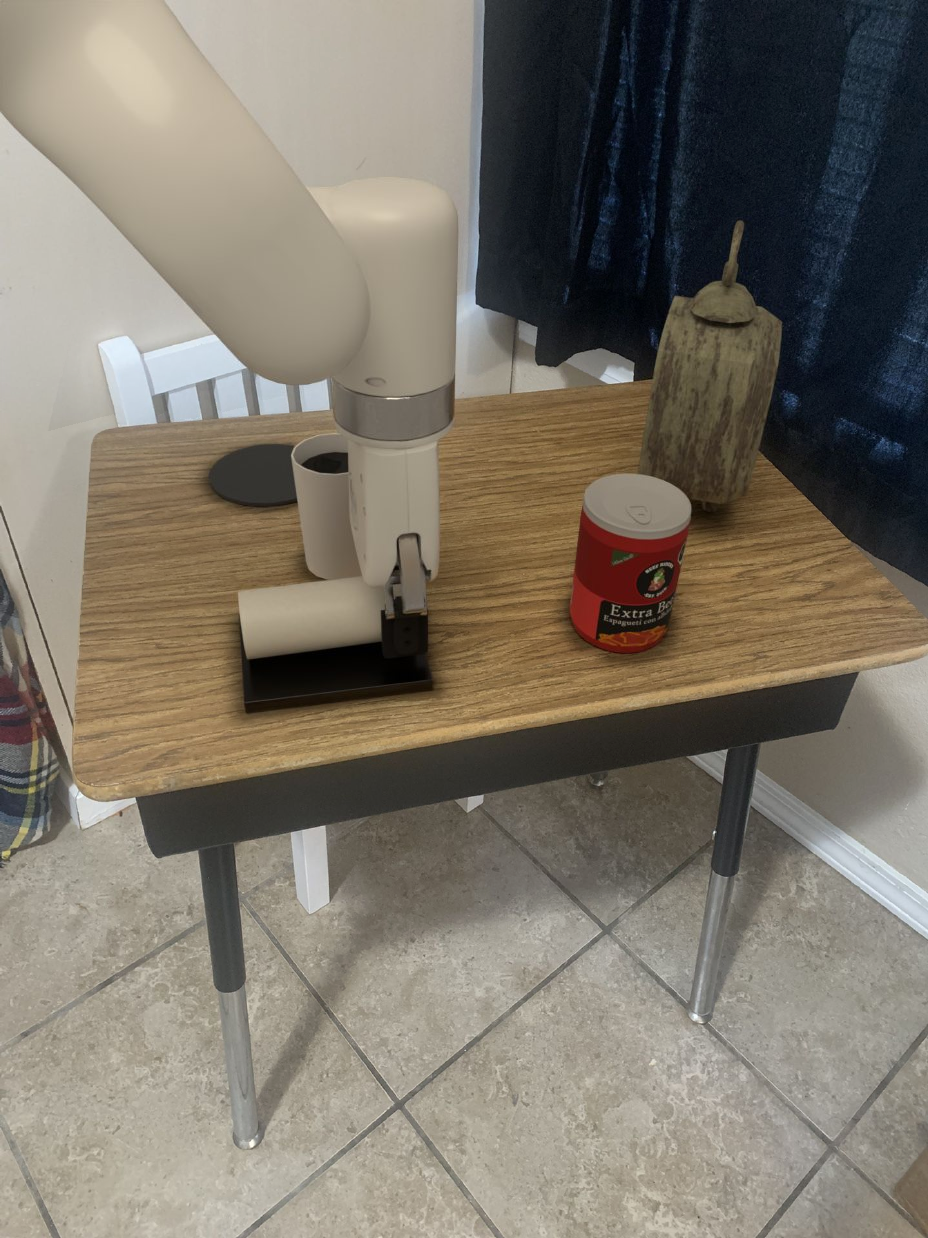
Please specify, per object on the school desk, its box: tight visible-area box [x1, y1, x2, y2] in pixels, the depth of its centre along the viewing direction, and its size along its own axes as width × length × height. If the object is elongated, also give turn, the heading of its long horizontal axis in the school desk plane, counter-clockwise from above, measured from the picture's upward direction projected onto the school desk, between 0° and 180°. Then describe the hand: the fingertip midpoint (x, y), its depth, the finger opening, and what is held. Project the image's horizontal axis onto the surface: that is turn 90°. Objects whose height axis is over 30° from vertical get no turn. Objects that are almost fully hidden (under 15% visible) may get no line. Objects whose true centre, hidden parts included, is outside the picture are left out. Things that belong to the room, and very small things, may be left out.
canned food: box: [569, 473, 692, 654], centre depth 72 cm, size 8×8×11 cm
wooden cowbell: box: [637, 220, 783, 514], centre depth 82 cm, size 14×9×25 cm, turn 164°
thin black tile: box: [238, 613, 434, 714], centre depth 71 cm, size 13×10×1 cm
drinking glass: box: [291, 432, 362, 581], centre depth 78 cm, size 7×7×10 cm
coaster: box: [208, 443, 298, 508], centre depth 92 cm, size 11×11×1 cm
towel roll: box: [237, 576, 402, 659], centre depth 69 cm, size 12×5×5 cm, turn 102°
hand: (398, 627), depth 71 cm, fingers closed on towel roll, 4 cm apart
